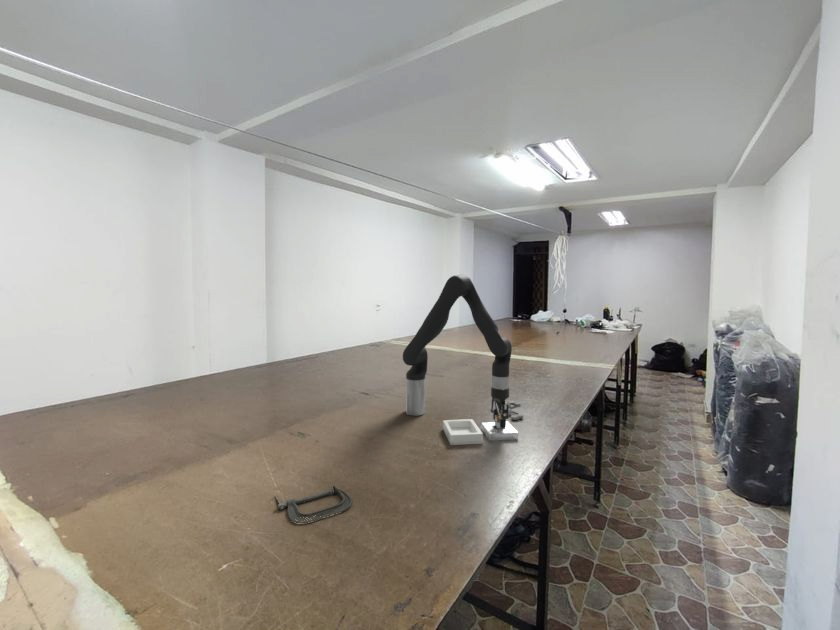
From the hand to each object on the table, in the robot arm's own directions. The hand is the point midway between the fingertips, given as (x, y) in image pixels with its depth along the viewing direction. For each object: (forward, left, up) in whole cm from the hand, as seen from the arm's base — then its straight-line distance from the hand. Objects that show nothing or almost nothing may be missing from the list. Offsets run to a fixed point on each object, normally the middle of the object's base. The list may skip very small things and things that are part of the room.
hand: (499, 423), depth 159 cm
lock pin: (0, 0, -5) cm, 5 cm away
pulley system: (+13, +28, -5) cm, 31 cm away
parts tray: (-16, 0, -5) cm, 17 cm away
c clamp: (-70, -42, -5) cm, 82 cm away
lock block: (0, 0, -5) cm, 5 cm away
